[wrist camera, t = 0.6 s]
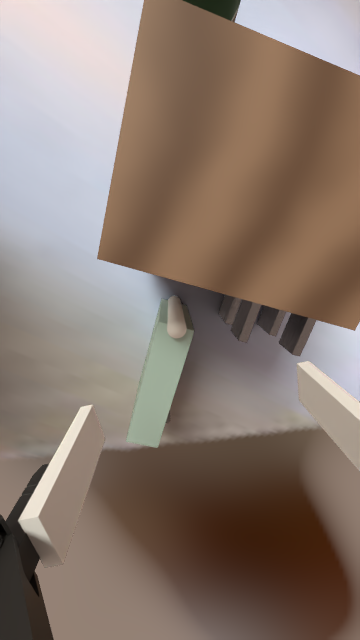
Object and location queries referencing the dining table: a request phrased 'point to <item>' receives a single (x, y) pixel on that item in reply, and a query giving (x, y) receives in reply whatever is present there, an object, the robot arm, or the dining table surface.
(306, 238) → the cabinet
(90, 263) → the dining table surface
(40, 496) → the robot arm
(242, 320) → the grey open frame
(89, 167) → the dining table surface
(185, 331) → the door
